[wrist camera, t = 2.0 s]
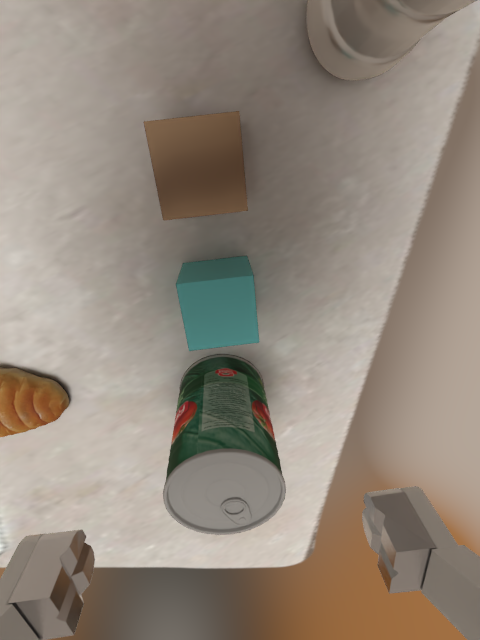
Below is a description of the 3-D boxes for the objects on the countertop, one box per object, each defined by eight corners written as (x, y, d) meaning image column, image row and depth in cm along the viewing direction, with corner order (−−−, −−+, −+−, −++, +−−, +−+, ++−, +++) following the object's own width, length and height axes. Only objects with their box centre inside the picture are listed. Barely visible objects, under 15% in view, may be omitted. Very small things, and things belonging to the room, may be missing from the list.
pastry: (64, 360, 29) (43, 387, 25) (78, 419, 32) (61, 450, 28) (-50, 361, 28) (-87, 389, 24) (-25, 421, 31) (-55, 454, 27)
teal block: (183, 262, 25) (175, 284, 21) (246, 255, 25) (253, 275, 21) (193, 320, 28) (189, 350, 23) (252, 313, 28) (259, 342, 23)
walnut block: (158, 130, 21) (143, 121, 17) (234, 121, 22) (239, 111, 17) (173, 209, 24) (163, 220, 19) (241, 201, 24) (247, 210, 19)
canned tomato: (164, 373, 30) (138, 478, 20) (244, 341, 29) (259, 435, 19) (202, 432, 33) (197, 547, 23) (275, 405, 32) (302, 513, 22)
